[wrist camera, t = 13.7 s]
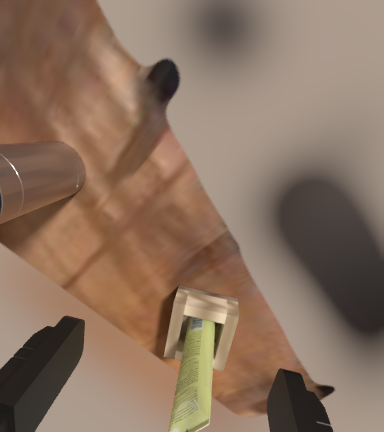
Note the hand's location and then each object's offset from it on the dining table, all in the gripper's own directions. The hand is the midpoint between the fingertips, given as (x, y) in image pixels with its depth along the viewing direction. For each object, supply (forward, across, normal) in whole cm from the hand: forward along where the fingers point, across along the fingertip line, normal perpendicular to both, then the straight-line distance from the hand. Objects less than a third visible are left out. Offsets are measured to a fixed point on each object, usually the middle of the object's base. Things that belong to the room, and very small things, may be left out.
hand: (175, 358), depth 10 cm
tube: (+32, -3, +25) cm, 41 cm away
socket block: (+33, -3, +25) cm, 42 cm away
